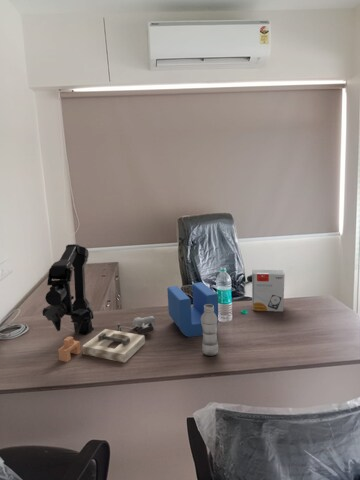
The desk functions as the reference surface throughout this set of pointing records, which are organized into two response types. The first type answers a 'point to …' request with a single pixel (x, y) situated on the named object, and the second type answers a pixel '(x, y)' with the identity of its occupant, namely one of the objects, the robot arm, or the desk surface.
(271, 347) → the desk surface
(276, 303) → the hard drive box
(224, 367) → the desk surface
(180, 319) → the block
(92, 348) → the beige square frame
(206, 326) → the plastic bottle
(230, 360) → the desk surface
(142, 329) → the clip-on lamp
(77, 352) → the wooden cross piece
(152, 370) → the desk surface
